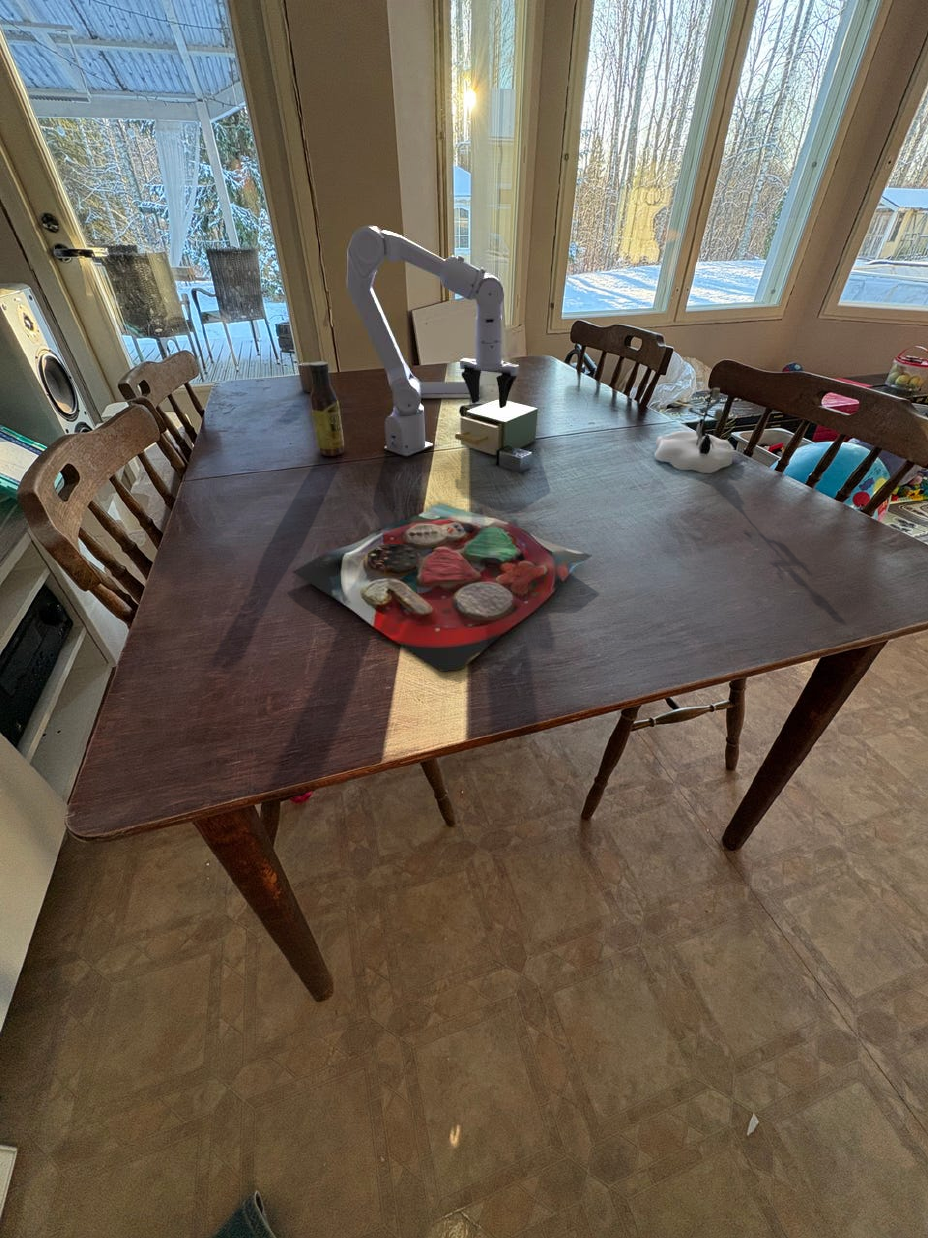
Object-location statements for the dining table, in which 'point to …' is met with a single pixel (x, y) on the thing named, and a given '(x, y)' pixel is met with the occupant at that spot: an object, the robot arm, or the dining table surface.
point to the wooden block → (305, 377)
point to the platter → (444, 581)
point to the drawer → (481, 434)
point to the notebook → (445, 390)
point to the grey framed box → (513, 458)
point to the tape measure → (467, 408)
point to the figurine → (697, 444)
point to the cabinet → (511, 421)
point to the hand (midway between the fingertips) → (488, 404)
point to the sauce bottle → (325, 412)
